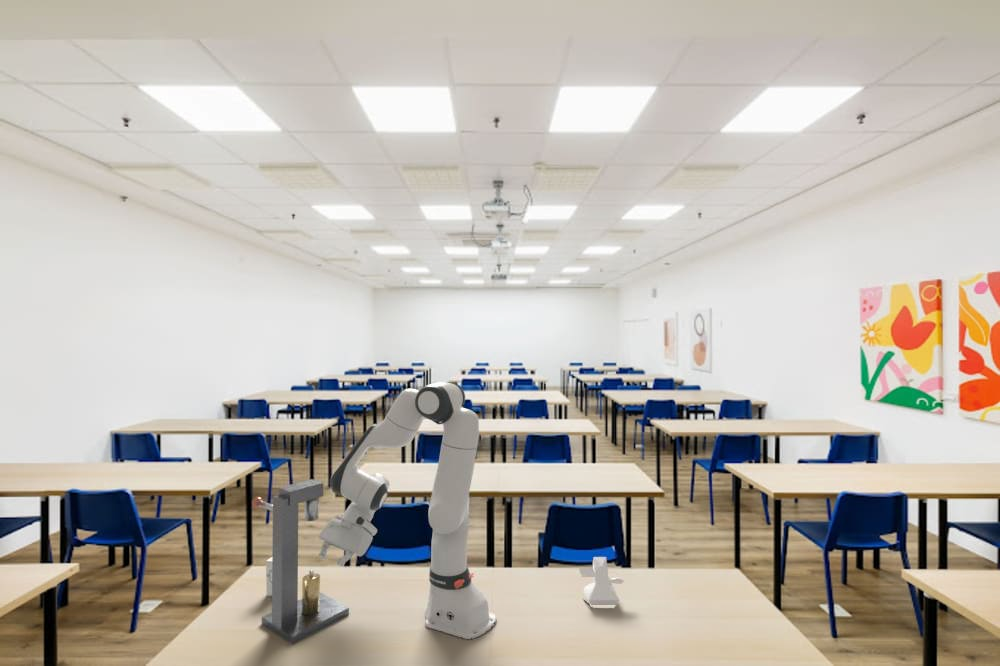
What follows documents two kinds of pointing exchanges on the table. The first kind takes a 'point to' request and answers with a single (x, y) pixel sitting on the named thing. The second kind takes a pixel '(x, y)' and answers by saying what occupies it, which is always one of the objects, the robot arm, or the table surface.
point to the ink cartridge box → (269, 576)
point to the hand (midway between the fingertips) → (330, 561)
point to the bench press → (294, 565)
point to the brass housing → (310, 593)
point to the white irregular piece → (600, 584)
